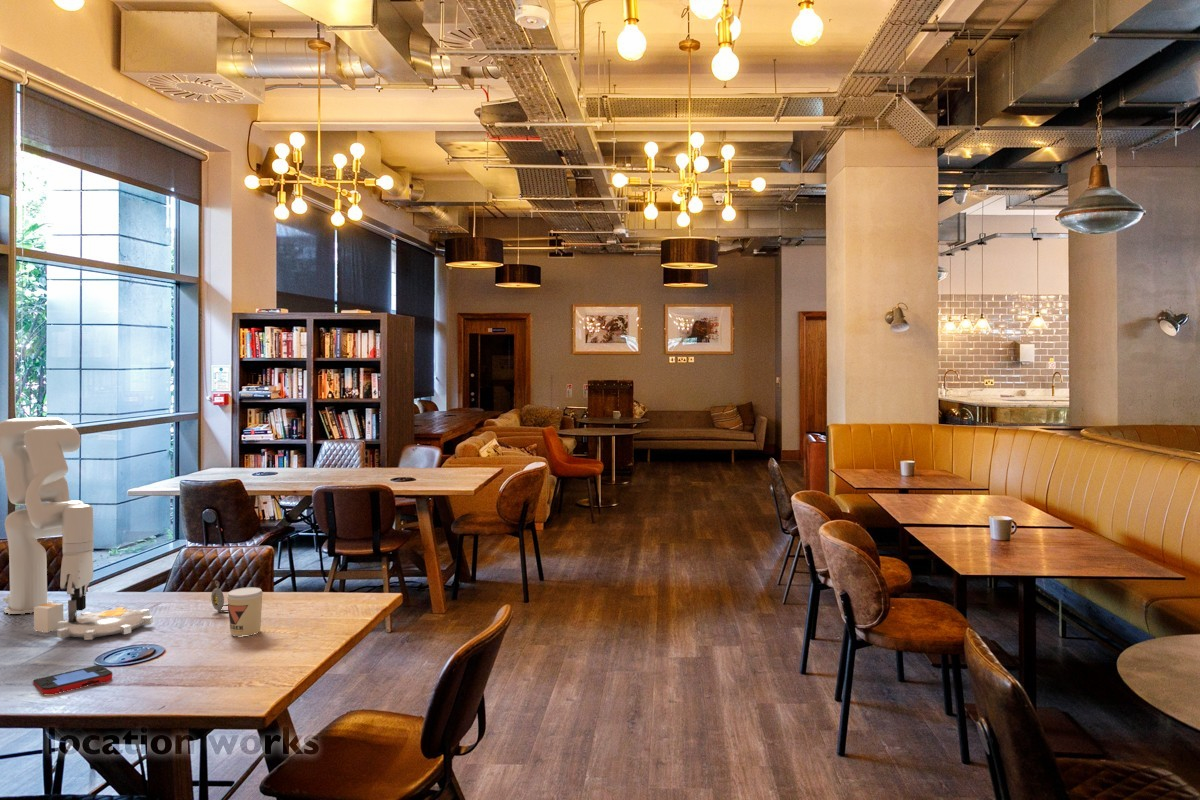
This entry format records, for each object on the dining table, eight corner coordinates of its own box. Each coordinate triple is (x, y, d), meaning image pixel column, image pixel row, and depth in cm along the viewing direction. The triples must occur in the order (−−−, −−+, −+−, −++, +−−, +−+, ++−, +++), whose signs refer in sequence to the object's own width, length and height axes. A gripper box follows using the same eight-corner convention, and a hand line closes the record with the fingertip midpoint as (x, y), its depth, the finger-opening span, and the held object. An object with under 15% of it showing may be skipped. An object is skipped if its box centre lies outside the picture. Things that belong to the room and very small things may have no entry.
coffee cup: (220, 635, 230) (219, 593, 230) (248, 626, 239) (247, 585, 238) (242, 640, 226) (242, 597, 226) (270, 630, 234) (269, 589, 234)
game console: (100, 669, 205) (100, 660, 205) (115, 682, 196) (115, 673, 196) (31, 684, 195) (31, 674, 195) (44, 699, 186) (43, 689, 186)
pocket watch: (244, 607, 258) (244, 576, 258) (230, 615, 249) (229, 582, 249) (220, 606, 259) (219, 575, 258) (204, 614, 250) (204, 582, 250)
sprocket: (38, 642, 220) (37, 613, 220) (76, 616, 244) (75, 590, 244) (137, 636, 226) (136, 608, 225) (164, 611, 249) (164, 585, 249)
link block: (34, 631, 233) (33, 606, 233) (50, 626, 238) (49, 602, 238) (48, 632, 232) (47, 608, 232) (63, 627, 237) (63, 603, 237)
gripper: (76, 541, 243) (77, 602, 243) (50, 553, 228) (50, 618, 229) (103, 541, 244) (104, 602, 244) (79, 553, 229) (79, 617, 230)
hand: (78, 609), depth 237 cm, fingers closed
